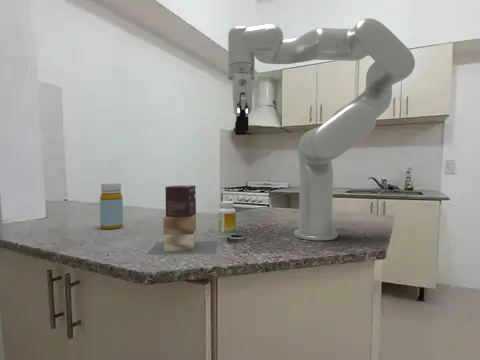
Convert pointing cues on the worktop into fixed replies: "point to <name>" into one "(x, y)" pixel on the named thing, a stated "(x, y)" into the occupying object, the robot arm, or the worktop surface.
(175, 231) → the tower top
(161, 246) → the mat
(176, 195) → the box
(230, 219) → the supplement bottle
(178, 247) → the tower base
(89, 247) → the worktop surface
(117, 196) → the bottle
